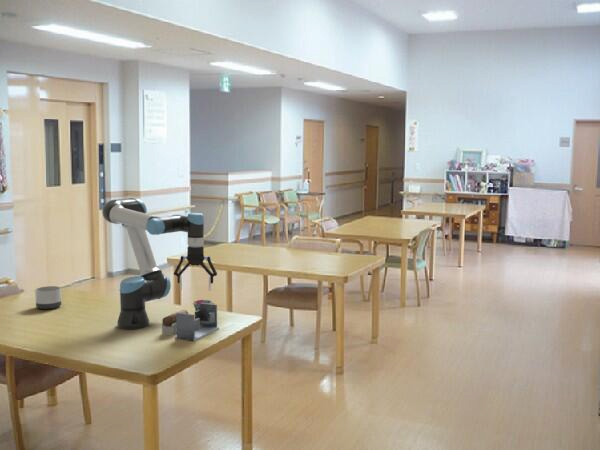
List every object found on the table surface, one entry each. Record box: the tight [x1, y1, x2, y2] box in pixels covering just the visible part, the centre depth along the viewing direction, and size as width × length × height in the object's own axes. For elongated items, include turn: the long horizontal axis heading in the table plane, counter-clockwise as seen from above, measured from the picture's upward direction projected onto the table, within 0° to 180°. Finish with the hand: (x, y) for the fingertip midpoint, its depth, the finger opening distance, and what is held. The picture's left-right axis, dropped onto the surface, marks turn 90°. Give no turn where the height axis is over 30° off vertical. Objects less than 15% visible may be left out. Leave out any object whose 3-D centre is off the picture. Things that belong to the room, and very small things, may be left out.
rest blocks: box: [160, 322, 177, 336], centre depth 300 cm, size 6×14×5 cm, turn 157°
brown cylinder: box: [161, 309, 189, 327], centre depth 299 cm, size 15×4×4 cm, turn 157°
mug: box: [192, 299, 215, 312], centre depth 314 cm, size 12×9×11 cm
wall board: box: [174, 325, 220, 342], centre depth 295 cm, size 11×21×1 cm, turn 157°
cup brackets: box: [175, 303, 218, 342], centre depth 295 cm, size 9×21×12 cm, turn 157°
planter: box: [34, 285, 62, 310], centre depth 342 cm, size 13×13×10 cm
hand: (195, 289), depth 299 cm, fingers open, 13 cm apart
